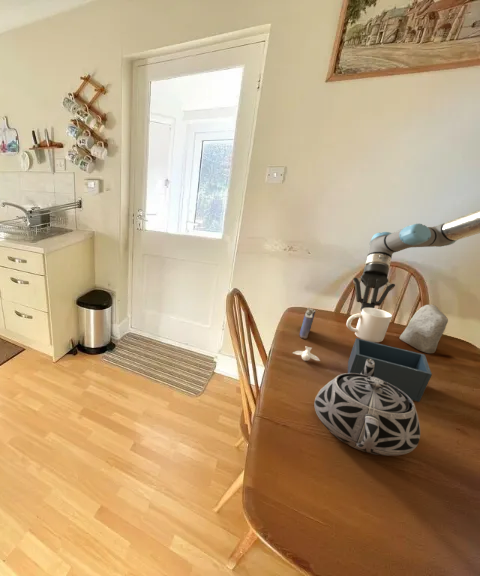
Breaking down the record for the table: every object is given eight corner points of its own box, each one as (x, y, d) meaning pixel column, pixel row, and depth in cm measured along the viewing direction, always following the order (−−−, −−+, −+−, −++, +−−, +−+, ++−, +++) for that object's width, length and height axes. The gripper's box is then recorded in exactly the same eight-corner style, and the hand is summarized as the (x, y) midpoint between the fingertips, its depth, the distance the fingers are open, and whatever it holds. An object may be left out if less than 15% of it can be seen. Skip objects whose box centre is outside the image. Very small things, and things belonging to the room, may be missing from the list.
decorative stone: (439, 355, 105) (457, 315, 99) (418, 353, 105) (435, 314, 100) (413, 338, 115) (429, 301, 109) (395, 337, 115) (409, 300, 110)
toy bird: (290, 357, 103) (294, 343, 103) (291, 355, 107) (295, 342, 107) (319, 366, 98) (323, 352, 98) (319, 364, 102) (323, 350, 102)
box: (413, 380, 93) (424, 354, 89) (419, 402, 84) (432, 374, 81) (348, 361, 102) (355, 337, 98) (347, 380, 93) (355, 354, 90)
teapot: (403, 409, 82) (424, 361, 76) (421, 502, 59) (452, 443, 54) (316, 381, 93) (329, 337, 87) (303, 451, 70) (320, 397, 65)
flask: (306, 340, 115) (313, 313, 111) (297, 337, 116) (304, 311, 113) (310, 330, 121) (317, 305, 117) (301, 328, 123) (308, 303, 119)
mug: (346, 339, 115) (354, 314, 111) (339, 328, 122) (346, 304, 118) (387, 344, 111) (396, 318, 107) (377, 333, 118) (385, 309, 114)
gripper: (358, 259, 127) (345, 311, 121) (401, 265, 120) (390, 320, 114) (354, 269, 133) (342, 318, 127) (395, 274, 126) (384, 327, 119)
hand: (365, 319), depth 120 cm, fingers closed
